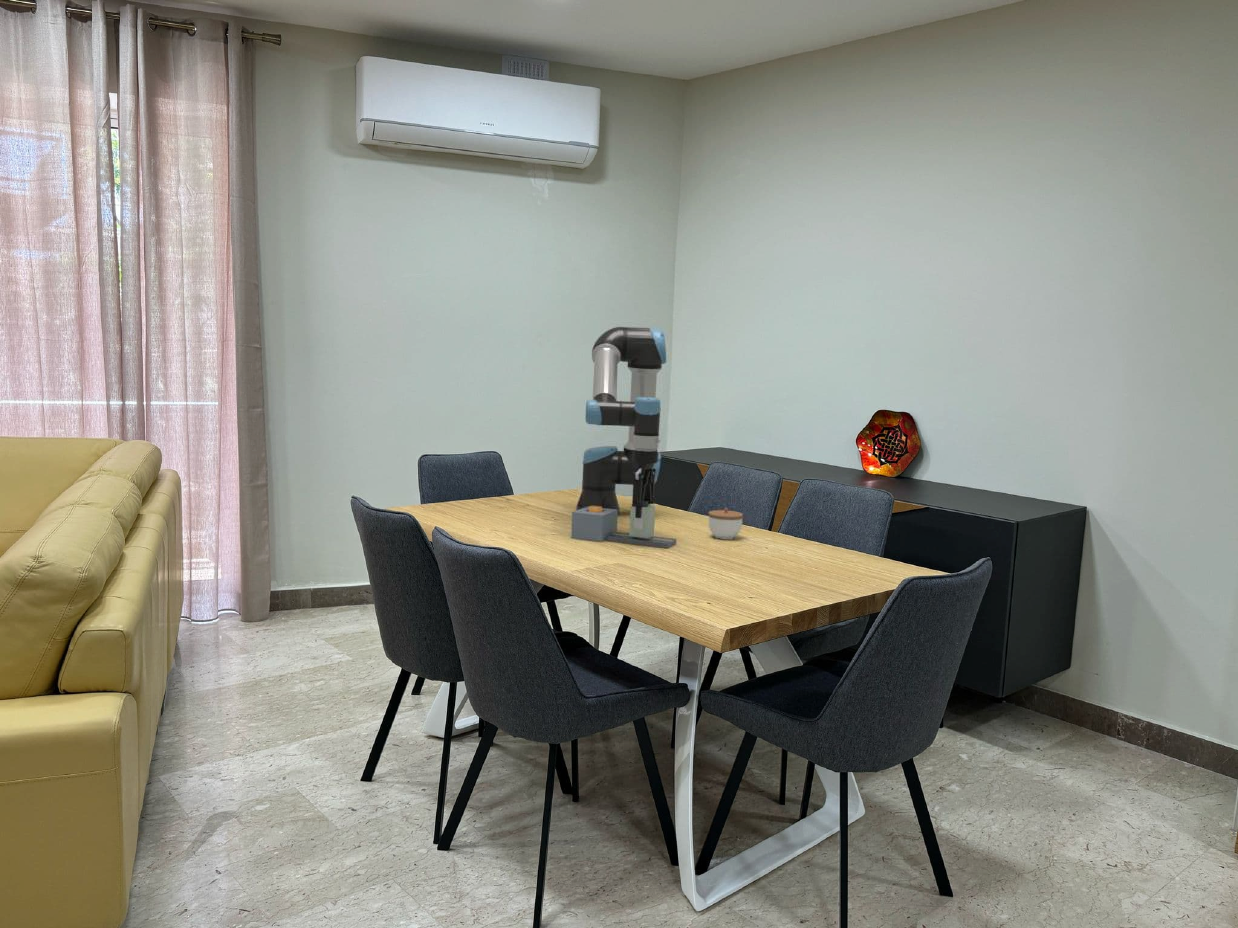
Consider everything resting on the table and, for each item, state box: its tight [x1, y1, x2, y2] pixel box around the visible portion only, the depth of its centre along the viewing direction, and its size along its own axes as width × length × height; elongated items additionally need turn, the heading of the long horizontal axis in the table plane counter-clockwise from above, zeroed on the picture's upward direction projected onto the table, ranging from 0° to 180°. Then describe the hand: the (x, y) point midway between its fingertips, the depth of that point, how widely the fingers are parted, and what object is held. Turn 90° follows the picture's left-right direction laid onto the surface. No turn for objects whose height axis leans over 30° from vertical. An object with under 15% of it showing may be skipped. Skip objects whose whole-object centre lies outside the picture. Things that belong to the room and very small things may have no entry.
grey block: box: [570, 506, 619, 543], centre depth 286 cm, size 10×12×8 cm
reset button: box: [589, 506, 602, 513], centre depth 286 cm, size 4×4×6 cm
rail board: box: [607, 531, 677, 550], centre depth 281 cm, size 19×8×2 cm, turn 68°
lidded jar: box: [708, 507, 744, 540], centre depth 294 cm, size 11×11×9 cm
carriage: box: [628, 501, 656, 538], centre depth 280 cm, size 6×5×10 cm
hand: (642, 526), depth 281 cm, fingers closed on carriage, 5 cm apart
